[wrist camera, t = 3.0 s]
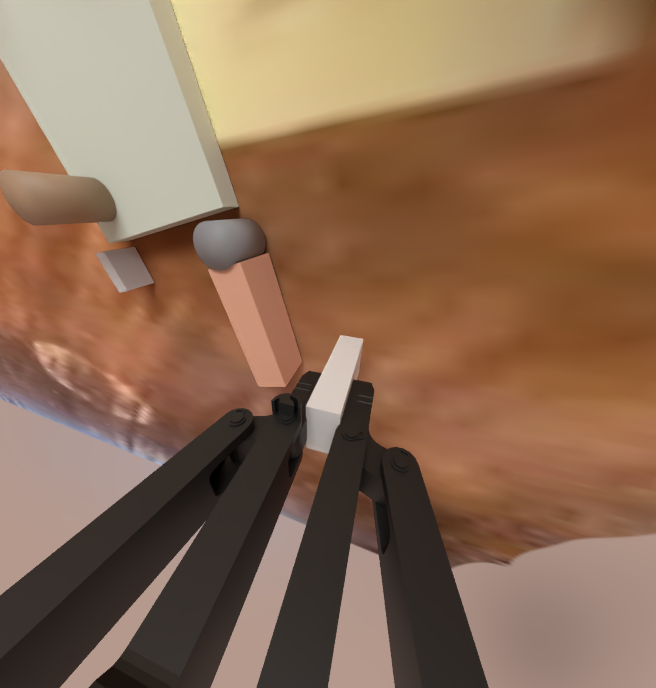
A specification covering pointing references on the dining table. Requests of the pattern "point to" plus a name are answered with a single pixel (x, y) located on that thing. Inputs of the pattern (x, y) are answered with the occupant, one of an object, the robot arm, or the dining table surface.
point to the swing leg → (250, 296)
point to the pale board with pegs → (112, 123)
